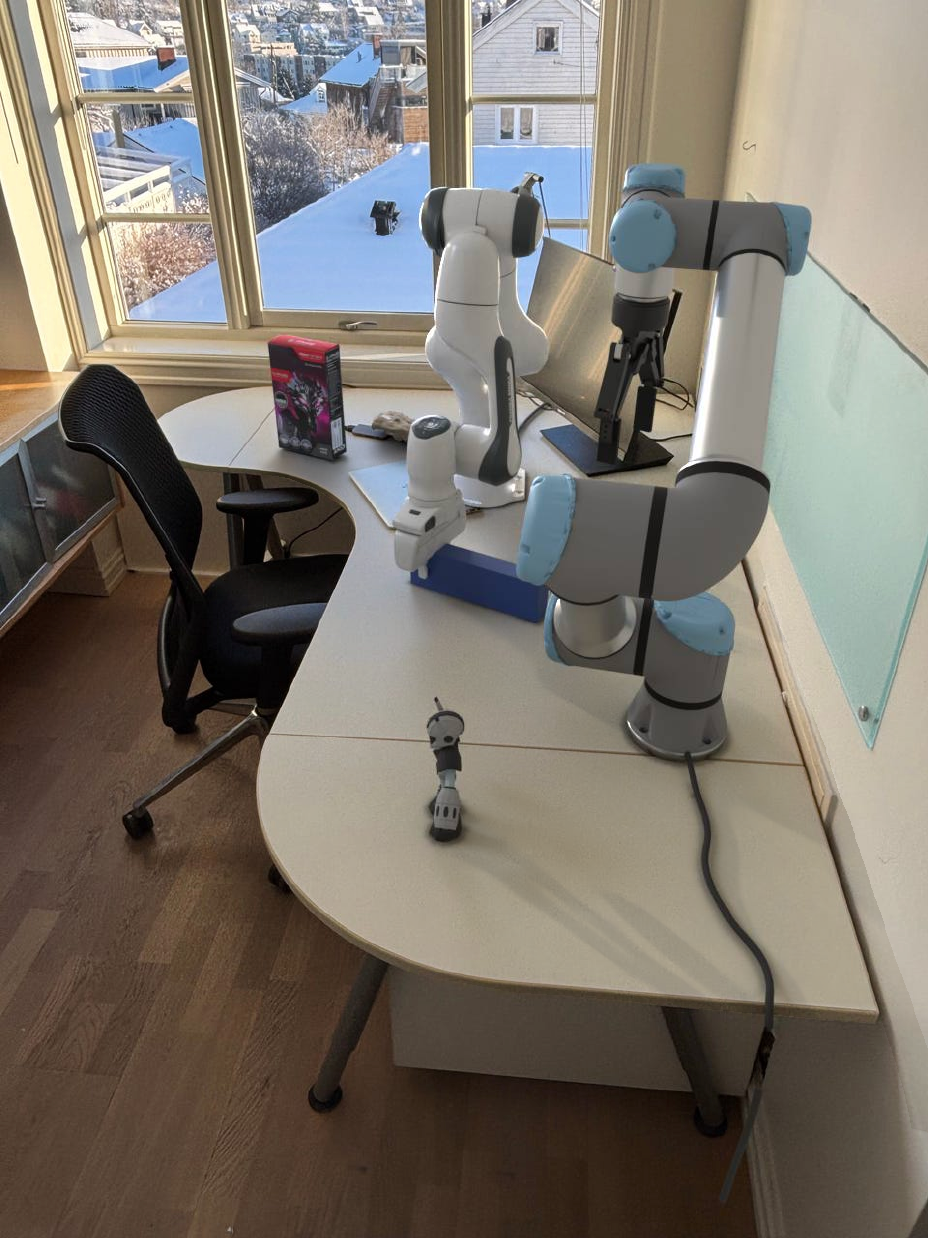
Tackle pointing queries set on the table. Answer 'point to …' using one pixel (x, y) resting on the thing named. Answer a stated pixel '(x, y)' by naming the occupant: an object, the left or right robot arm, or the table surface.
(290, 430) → the graphics card box
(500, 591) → the bar
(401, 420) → the stone
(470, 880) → the table surface
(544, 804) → the table surface
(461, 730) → the robot
